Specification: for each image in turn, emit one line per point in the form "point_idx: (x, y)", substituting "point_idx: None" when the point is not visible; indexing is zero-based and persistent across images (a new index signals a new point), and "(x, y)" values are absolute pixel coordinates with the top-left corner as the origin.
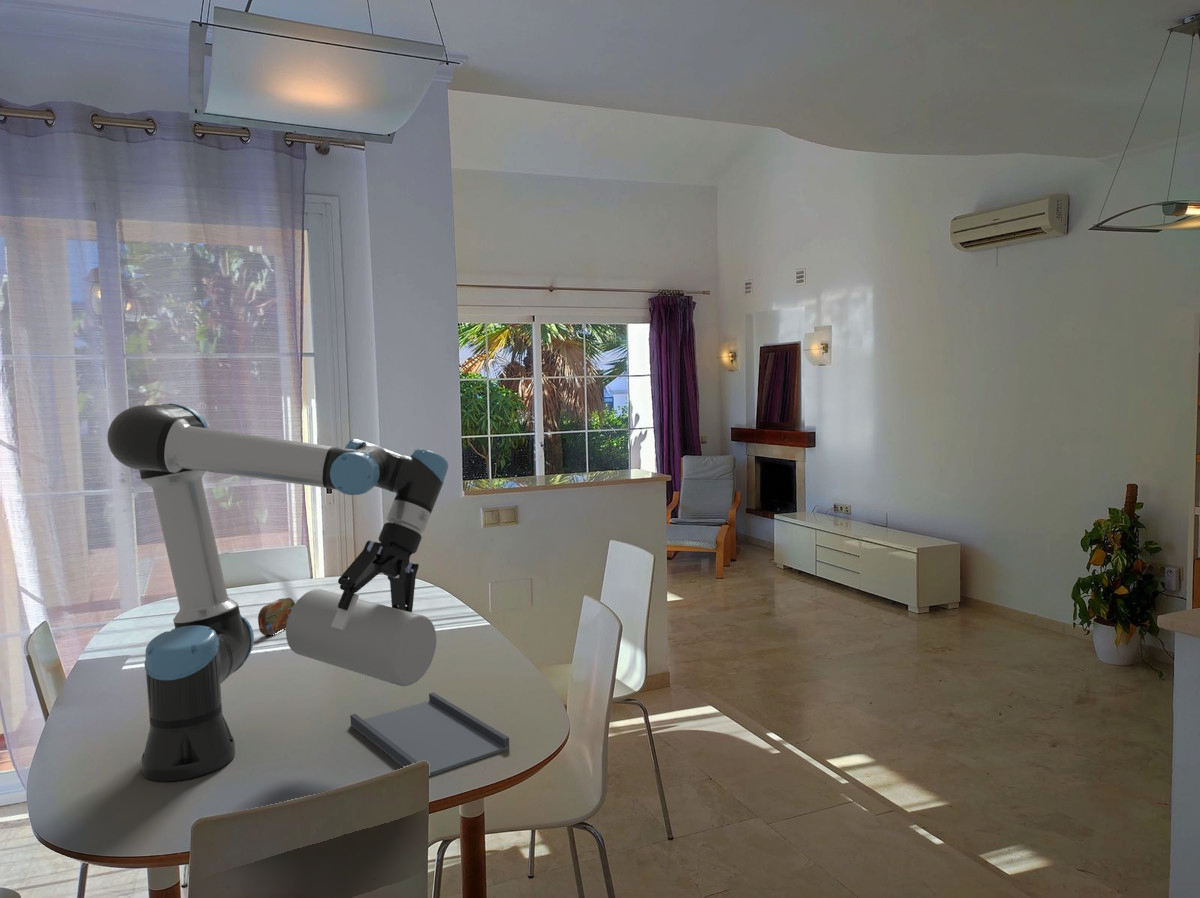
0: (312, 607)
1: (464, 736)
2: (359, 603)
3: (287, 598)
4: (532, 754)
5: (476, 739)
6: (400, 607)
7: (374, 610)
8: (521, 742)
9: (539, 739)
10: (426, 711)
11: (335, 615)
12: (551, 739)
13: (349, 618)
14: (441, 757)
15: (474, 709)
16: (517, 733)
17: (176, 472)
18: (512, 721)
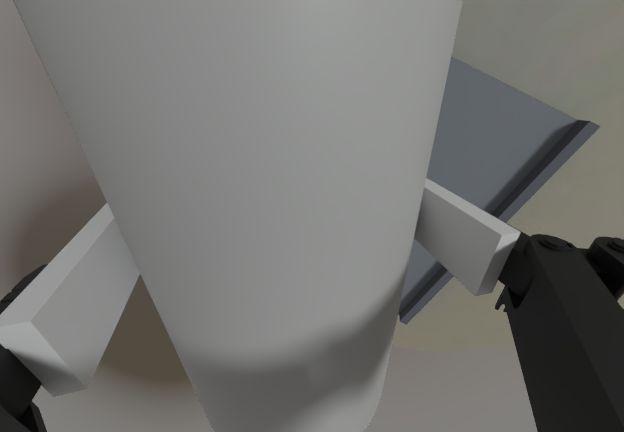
0: None
1: (417, 259)
2: (185, 296)
3: None
4: (400, 336)
5: (412, 276)
6: (510, 313)
7: (198, 370)
8: (429, 319)
9: (443, 335)
10: (510, 151)
11: (89, 221)
12: (447, 346)
13: (135, 278)
14: None
15: (549, 220)
16: (456, 309)
17: None
18: (500, 292)
